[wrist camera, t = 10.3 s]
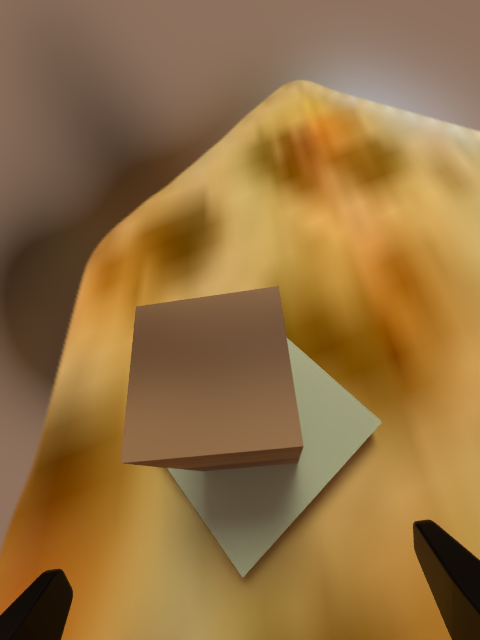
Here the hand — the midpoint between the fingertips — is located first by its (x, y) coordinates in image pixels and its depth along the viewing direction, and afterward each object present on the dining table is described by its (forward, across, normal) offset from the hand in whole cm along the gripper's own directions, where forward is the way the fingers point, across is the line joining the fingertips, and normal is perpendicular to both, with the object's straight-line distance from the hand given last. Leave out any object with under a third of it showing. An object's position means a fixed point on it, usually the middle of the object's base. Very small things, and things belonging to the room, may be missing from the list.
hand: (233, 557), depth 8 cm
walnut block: (+9, 0, +2) cm, 10 cm away
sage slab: (+11, 0, +5) cm, 12 cm away
